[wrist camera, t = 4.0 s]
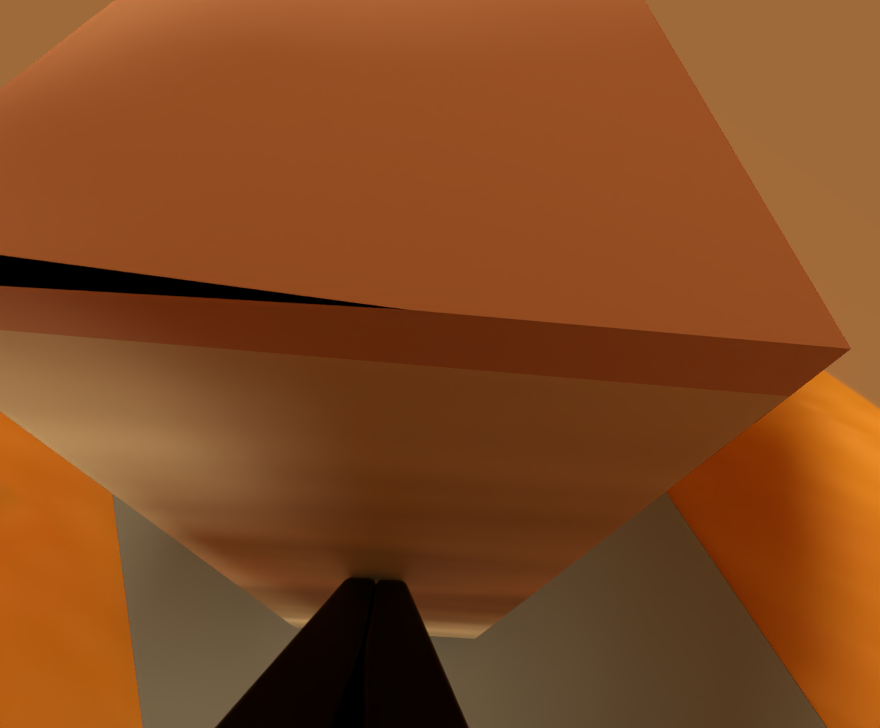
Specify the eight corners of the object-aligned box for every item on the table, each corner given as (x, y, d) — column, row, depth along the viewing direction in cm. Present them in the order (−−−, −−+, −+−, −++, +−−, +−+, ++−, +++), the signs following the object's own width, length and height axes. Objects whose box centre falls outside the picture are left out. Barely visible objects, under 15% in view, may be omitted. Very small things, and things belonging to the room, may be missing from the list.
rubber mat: (228, 1252, 8) (217, 1295, 7) (103, 358, 16) (93, 349, 16) (832, 758, 12) (851, 764, 11) (487, 244, 20) (489, 233, 20)
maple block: (474, 638, 12) (849, 348, 2) (294, 627, 12) (-215, 253, 2) (475, 470, 14) (641, -5, 5) (328, 459, 14) (187, -57, 5)
